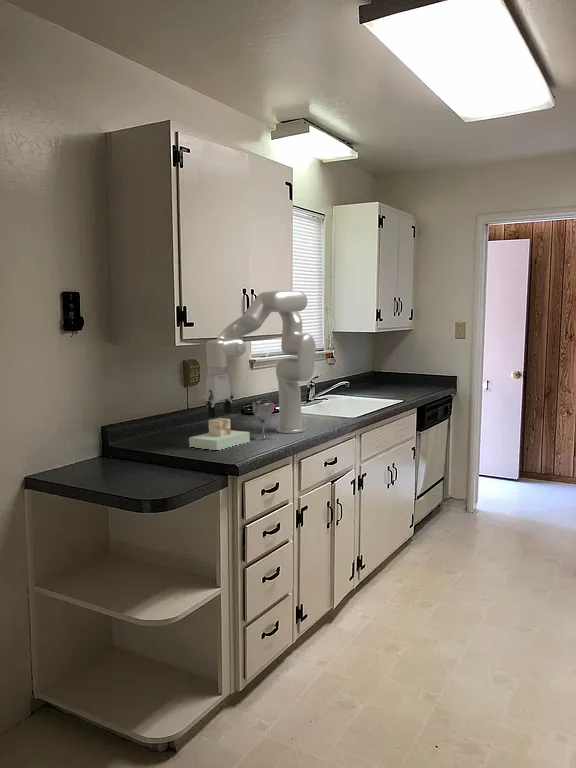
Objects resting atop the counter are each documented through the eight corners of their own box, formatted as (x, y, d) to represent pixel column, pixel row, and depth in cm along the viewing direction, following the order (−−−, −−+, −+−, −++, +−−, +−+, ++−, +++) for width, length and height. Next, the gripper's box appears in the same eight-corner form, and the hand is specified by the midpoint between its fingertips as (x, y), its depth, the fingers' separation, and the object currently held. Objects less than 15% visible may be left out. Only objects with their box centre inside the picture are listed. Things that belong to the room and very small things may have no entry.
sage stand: (222, 438, 258) (222, 429, 258) (249, 441, 250) (249, 432, 250) (189, 447, 242) (189, 437, 241) (217, 451, 234) (216, 440, 233)
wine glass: (249, 439, 256) (248, 402, 255) (264, 436, 262) (263, 400, 260) (262, 441, 251) (261, 404, 249) (277, 438, 256) (276, 402, 255)
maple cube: (219, 432, 250) (218, 418, 249) (230, 434, 246) (230, 419, 246) (209, 435, 245) (208, 420, 244) (220, 436, 241) (220, 421, 241)
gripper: (224, 369, 252) (227, 410, 254) (195, 374, 238) (198, 418, 240) (239, 369, 248) (241, 411, 250) (210, 374, 234) (213, 419, 236)
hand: (220, 415), depth 245 cm, fingers open, 9 cm apart
